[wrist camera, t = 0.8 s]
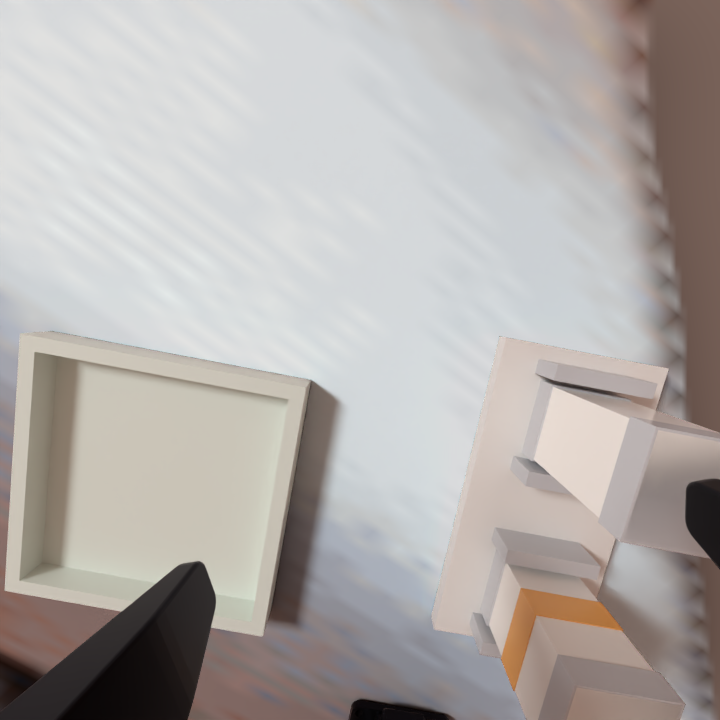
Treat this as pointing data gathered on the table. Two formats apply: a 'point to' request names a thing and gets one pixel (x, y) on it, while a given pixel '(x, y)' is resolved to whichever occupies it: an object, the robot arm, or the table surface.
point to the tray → (149, 474)
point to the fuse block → (527, 485)
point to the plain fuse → (623, 462)
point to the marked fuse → (569, 651)
